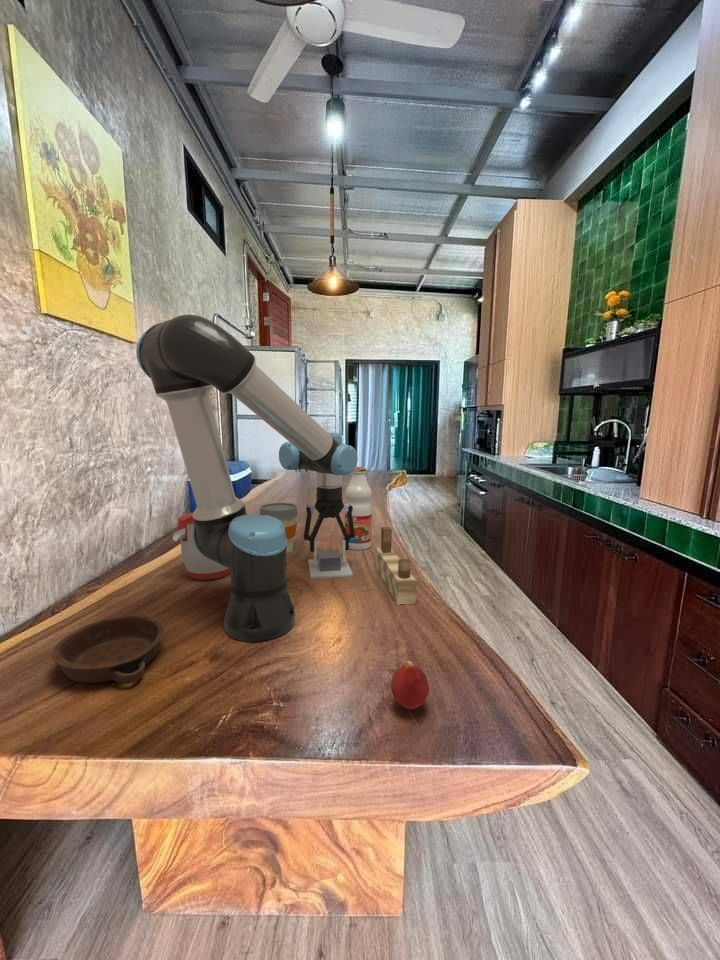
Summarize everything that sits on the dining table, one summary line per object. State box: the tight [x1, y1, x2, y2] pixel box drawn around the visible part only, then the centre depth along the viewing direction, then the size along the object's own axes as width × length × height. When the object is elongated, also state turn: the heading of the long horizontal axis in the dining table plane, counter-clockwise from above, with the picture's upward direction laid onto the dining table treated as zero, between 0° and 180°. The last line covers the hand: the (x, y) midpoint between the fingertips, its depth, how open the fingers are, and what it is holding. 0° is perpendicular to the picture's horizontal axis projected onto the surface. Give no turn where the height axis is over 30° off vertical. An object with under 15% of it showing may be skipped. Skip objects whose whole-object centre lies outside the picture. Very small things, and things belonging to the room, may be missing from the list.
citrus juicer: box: [172, 511, 231, 581], centre depth 114 cm, size 16×17×20 cm
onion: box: [390, 660, 430, 711], centre depth 63 cm, size 6×6×8 cm
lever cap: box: [317, 549, 342, 572], centre depth 120 cm, size 7×6×4 cm
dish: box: [51, 614, 166, 685], centre depth 74 cm, size 18×22×5 cm
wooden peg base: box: [374, 526, 418, 606], centre depth 110 cm, size 26×5×13 cm, turn 10°
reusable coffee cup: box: [259, 502, 298, 554], centre depth 136 cm, size 13×13×15 cm
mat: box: [307, 557, 354, 580], centre depth 121 cm, size 14×12×1 cm
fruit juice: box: [344, 466, 373, 551], centre depth 139 cm, size 9×9×28 cm
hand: (329, 561), depth 120 cm, fingers open, 8 cm apart
